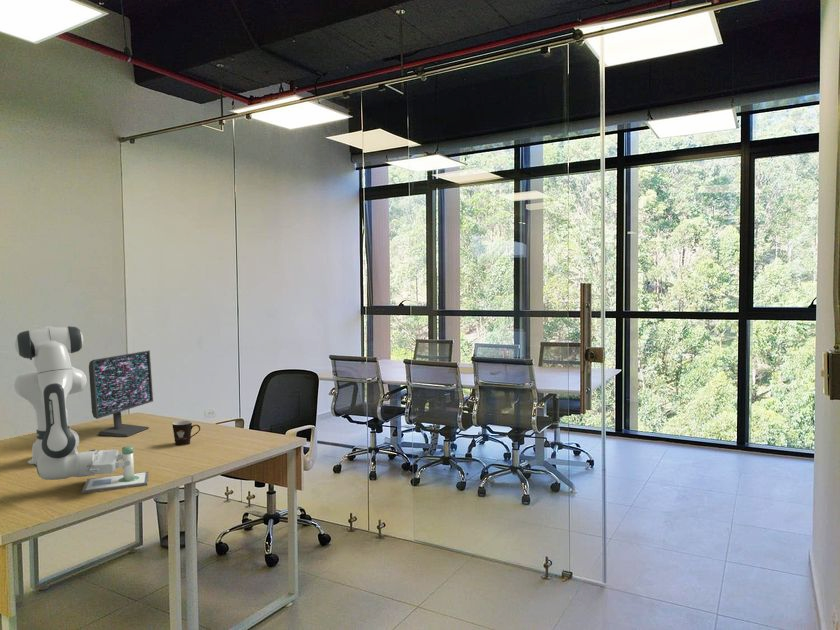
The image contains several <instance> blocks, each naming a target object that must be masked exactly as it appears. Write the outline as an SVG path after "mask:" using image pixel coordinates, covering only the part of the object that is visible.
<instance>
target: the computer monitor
mask: <svg viewBox="0 0 840 630" xmlns="http://www.w3.org/2000/svg"><path fill="white" fill-rule="evenodd" d="M88 374H89V375H88V376H89V390H90V403H91V404H90V406H91V414H92V416H93V418H94V419H96V420H98V419H101V418H105V417H107V416H110V415H112V417H113V426H111V427H109V428H106V429H103V430H100V431H99V432H98V433H97V435H98V436H101V437H117V438H118V437H119V438H120V437H121V438H123V437H124V438H127V437H130V436H133V435H135V434H138V433H141V432H143V431H145V430H148V429H150V427H148V426H142V425H135V424H127V423H126V424H125V423H123V422H122V412H123V411H127V410H130V409H134V408H137V407H140V406H143V405H146V404H149V403H152V402H154V394H153V393H154V392H153V379H152V365H151V350H145V351H138V352H132V353H126V354H119V355H114V356H109V357H108V356H107V357H102V358H101V357H100V358H95V359H92V360H89V363H88Z"/></svg>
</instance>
